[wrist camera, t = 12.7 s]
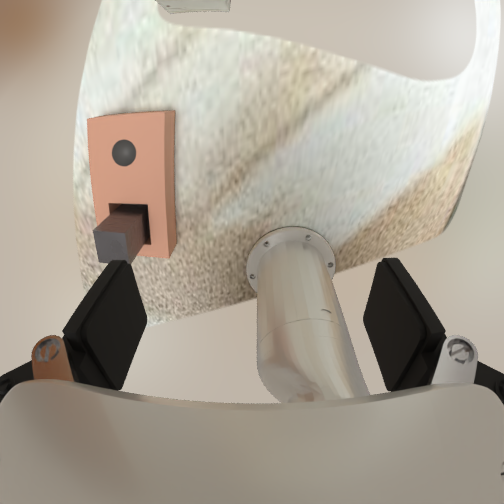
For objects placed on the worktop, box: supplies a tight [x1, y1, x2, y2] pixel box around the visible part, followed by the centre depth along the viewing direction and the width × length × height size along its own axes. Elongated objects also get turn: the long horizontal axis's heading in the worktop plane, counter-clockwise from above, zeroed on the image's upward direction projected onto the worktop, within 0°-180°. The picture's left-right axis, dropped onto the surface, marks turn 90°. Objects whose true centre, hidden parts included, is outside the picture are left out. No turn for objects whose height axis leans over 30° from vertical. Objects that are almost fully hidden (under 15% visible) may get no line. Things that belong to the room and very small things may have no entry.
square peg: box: [93, 203, 150, 265], centre depth 32 cm, size 4×4×10 cm
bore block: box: [87, 110, 177, 258], centre depth 32 cm, size 18×10×4 cm, turn 176°
